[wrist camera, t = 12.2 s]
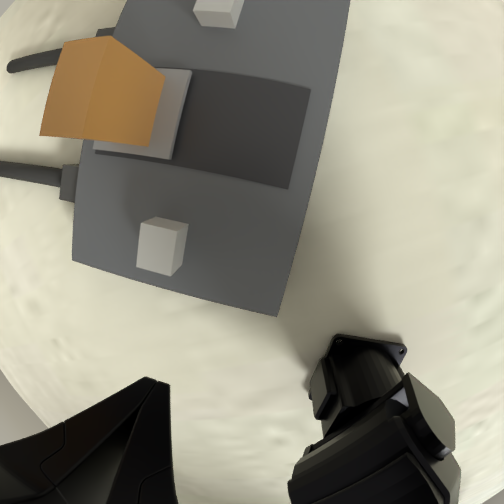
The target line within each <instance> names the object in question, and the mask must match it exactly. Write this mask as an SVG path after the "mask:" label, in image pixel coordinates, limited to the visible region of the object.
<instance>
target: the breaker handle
mask: <svg viewBox="0 0 504 504" xmlns="http://www.w3.org/2000/svg"><path fill="white" fill-rule="evenodd" d="M191 76H192V71H191V70H182V69H164V68H154V67H152V66H151V65H150V64H149V63H147V62H146V61H145V60H143V59H142V58H141V57H139V56H138V55H137V54H135V53H134V52H133V51H131V50H130V49H129V48H127V47H126V46H125V45H123V44H122V43H120V42H119V41H118V40H116V39H115V38H113V37H112V36H111V35H110V36H101V37H93V38H86V39H80V40H74V41H68V42H65V43H64V45H63V48H62V51H61V54H60V57H59V60H58V63H57V66H56V69H55V72H54V76H53V79H52V83H51V86H50V90H49V94H48V98H47V102H46V106H45V110H44V115H43V119H42V124H41V130H40V135H39V136H52V137H65V138H76V139H86V140H94V145H93V149H97V150H106V151H114V152H122V153H129V154H136V155H143V156H150V157H156V158H163V159H169V160H171V158H172V154H173V149H174V144H175V140H176V135H177V131H178V126H179V122H180V118H181V114H182V110H183V106H184V102H185V98H186V94H187V90H188V86H189V83H190V79H191Z"/></svg>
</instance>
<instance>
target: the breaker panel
mask: <svg viewBox="0 0 504 504" xmlns="http://www.w3.org/2000/svg"><path fill="white" fill-rule="evenodd" d="M349 6H350V0H127V2H126V4H125V6H124V8H123V11H122V13H121V15H120V18H119V20H118V23H117V25H116V27H113V28H105V29H98V31H97V34H96V37H101V36H110V35H111V36H112V37H113V38H115V39H116V40H118V41H119V42H120V43H122V44H123V45H125V46H126V47H127V48H129V49H130V50H131V51H133V52H134V53H135V54H137V55H138V56H139V57H141V58H142V59H143V60H145V61H146V62H147V63H149V64H150V65H151V66H152V67H154V68H164V69H182V70H191V71H192V76H191V79H190V83H189V86H188V90H187V94H186V98H185V102H184V106H183V110H182V114H181V118H180V122H179V126H178V131H177V135H176V140H175V144H174V149H173V154H172V158H171V160H169V159H163V158H156V157H150V156H143V155H136V154H129V153H122V152H114V151H106V150H97V149H93V145H94V140H86V139H84V140H83V146H82V151H81V158H80V164H70V165H63V169H62V177H61V186H60V197H59V199H60V200H65V201H69V202H74V203H75V207H74V220H73V239H72V260H73V261H76V262H79V263H82V264H85V265H88V266H91V267H94V268H97V269H100V270H103V271H106V272H110V273H113V274H116V275H119V276H122V277H126V278H129V279H132V280H136V281H139V282H142V283H146V284H149V285H153V286H156V287H160V288H163V289H167V290H171V291H174V292H178V293H181V294H185V295H189V296H193V297H196V298H200V299H204V300H208V301H212V302H216V303H220V304H224V305H228V306H232V307H236V308H240V309H244V310H249V311H253V312H257V313H262V314H266V315H270V316H275V317H277V315H278V312H279V309H280V305H281V302H282V298H283V295H284V291H285V288H286V284H287V281H288V277H289V274H290V270H291V267H292V263H293V259H294V256H295V252H296V248H297V245H298V241H299V237H300V233H301V230H302V226H303V222H304V218H305V214H306V210H307V206H308V202H309V198H310V194H311V190H312V186H313V182H314V178H315V174H316V170H317V166H318V161H319V157H320V153H321V148H322V144H323V140H324V135H325V131H326V126H327V122H328V117H329V112H330V108H331V103H332V98H333V93H334V88H335V83H336V78H337V73H338V68H339V63H340V58H341V52H342V47H343V41H344V36H345V30H346V24H347V18H348V12H349Z"/></svg>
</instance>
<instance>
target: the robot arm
mask: <svg viewBox="0 0 504 504" xmlns="http://www.w3.org/2000/svg"><path fill="white" fill-rule="evenodd" d="M340 339H341V342H336V341H337V340H340ZM401 349H403V350H402V351H400V350H401ZM399 351H400V352H399ZM406 353H407V348H406V346H405V345H404V344H400V343H393V342H386V341H380V340H373V339H367V338H361V337H356V336H350V335H344V334H336V335H335V336H333V338H332V340H331V342H330V345H329V347H328V350H327V352H326V354H325V357H323V358H321V359H320V361H319V363H318V365H317V368H316V370H315V372H314V375H313V377H312V379H311V381H310V387H311V388H310V391H309V393H308V396H309V399H310V400H312V403H313V411H314V417H315V418H316V420H321V424H322V431H323V438H324V439H322V440H320V441H319V442H317V443H316V444H311V445H310V446H308V447H306V449H305V451H304V454H303V457H302V458H300V460H299V461H298V462H297V464H296V465H295V466H294V470H293V474H292V479H290V480H289V481H288V483H287V484H288V494H289V498H290V501H291V504H458V497H459V489H460V479H461V469H460V467H459V465H458V463H457V462H456V460H455V458H454V456H453V455H452V453H451V452H453V451H454V450H455V421H454V419H453V417H452V415H451V414H450V412H449V411H448V410H447V408H446V407H445V405H444V404H443V402H442V401H441V399H440V398H439V397H438V396H436V395H435V394H434V393H433V392H432V391H430V390H429V389H428V388H427V387H426V386H425V385H423V384H422V383H421V382H420V381H419V380H417V379H416V378H415V377H414V376H413V375H411V374H410V373H409V372H408V373H407V374H406V375H404V373H403V371H402V369H401V368H400V364H401V362H402V360H403V358H404V356H405V355H406ZM0 504H178V500H177V496H176V490H175V483H174V472H173V459H172V440H171V410H170V385H169V384H167V383H164V382H161V381H158V382H157V380H155V379H152V378H149V377H143V378H141V379H139V380H138V381H136V382H134V383H133V384H131V385H129V386H127V387H126V388H124V389H122V390H120V391H119V392H117V393H115V394H113V395H111V396H110V397H108V398H106V399H104V400H102V401H101V402H99V403H97V404H95V405H93V406H91V407H90V408H88V409H86V410H84V411H82V412H80V413H78V414H76V415H75V416H73V417H71V418H69V419H67V420H65V421H64V422H61V423H59V424H57V425H55V426H53V427H51V428H49V429H46V430H44V431H42V432H40V433H37V434H34V435H32V436H29V437H26V438H23V439H20V440H17V441H14V442H11V443H7V444H4V445H1V446H0Z"/></svg>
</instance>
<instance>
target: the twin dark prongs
mask: <svg viewBox="0 0 504 504" xmlns="http://www.w3.org/2000/svg"><path fill="white" fill-rule="evenodd" d="M61 51H62V48H61V49H56V50H51V51H46V52H42V53H37V54H33V55H29V56H25V57H22V58H18V59H15V60H12V61H10V62H9V63H8V65H7V71H8V72H9V73H15V72H20V71H24V70H29V69H34V68H39V67H44V66H50V65H56V64H57V63H58V60H59V57H60V54H61ZM0 177H6V178H12V179H17V180H23V181H29V182H34V183H40V184H45V185H50V186H56V187H60V186H61V177H62V169H60V168H53V167H45V166H38V165H30V164H22V163H13V162H4V161H0Z"/></svg>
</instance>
